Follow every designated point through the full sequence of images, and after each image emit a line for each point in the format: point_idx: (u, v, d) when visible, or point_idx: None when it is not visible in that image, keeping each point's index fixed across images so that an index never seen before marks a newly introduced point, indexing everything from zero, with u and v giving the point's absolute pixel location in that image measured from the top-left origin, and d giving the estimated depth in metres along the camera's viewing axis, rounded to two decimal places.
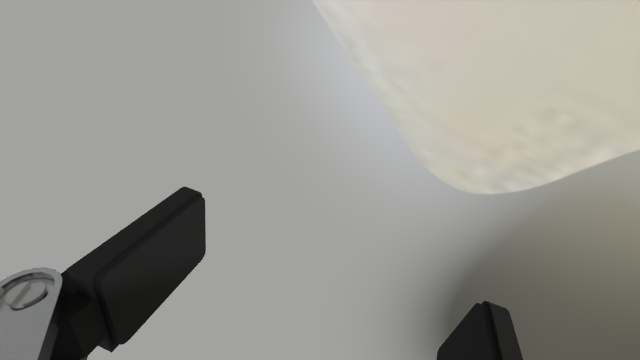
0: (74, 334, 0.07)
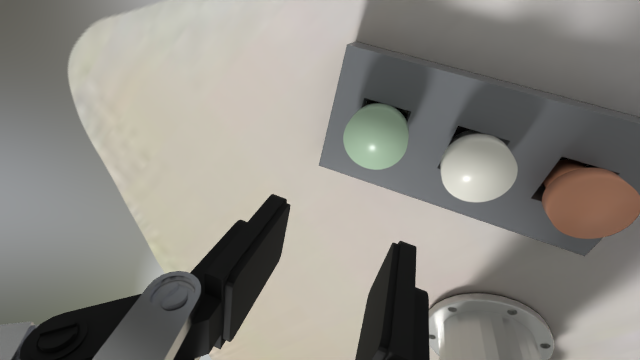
0: None
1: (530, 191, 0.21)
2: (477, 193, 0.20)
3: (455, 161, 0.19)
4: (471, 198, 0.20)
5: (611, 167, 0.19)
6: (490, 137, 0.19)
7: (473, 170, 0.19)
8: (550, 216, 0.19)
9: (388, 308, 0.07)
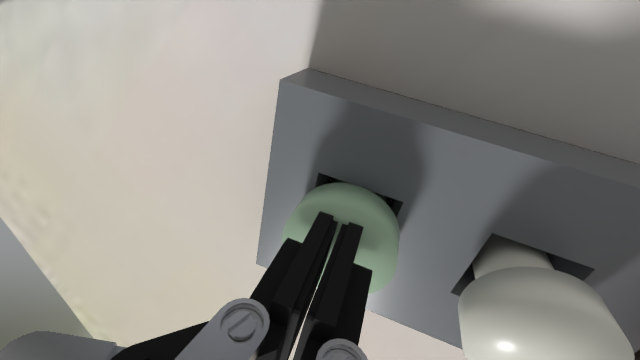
0: None
1: None
2: None
3: (492, 327, 0.09)
4: None
5: None
6: (568, 283, 0.09)
7: (530, 348, 0.09)
8: None
9: (323, 281, 0.08)
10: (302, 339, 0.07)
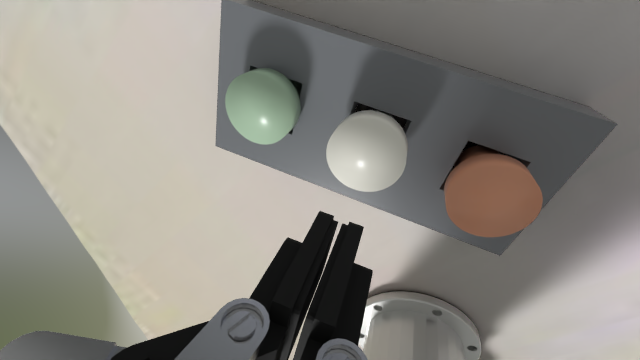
0: None
1: (438, 181, 0.19)
2: (367, 181, 0.17)
3: (339, 142, 0.16)
4: (362, 187, 0.17)
5: (521, 155, 0.16)
6: (379, 114, 0.16)
7: (359, 153, 0.16)
8: (447, 210, 0.16)
9: (323, 281, 0.08)
10: (302, 339, 0.07)
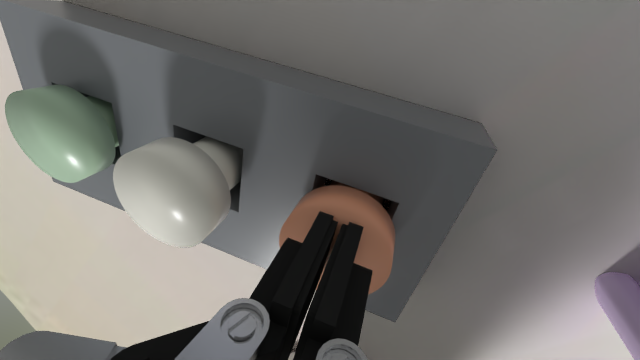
0: None
1: None
2: (175, 234, 0.12)
3: (124, 182, 0.12)
4: (173, 241, 0.12)
5: (385, 193, 0.12)
6: (173, 143, 0.11)
7: (152, 197, 0.11)
8: None
9: (323, 281, 0.08)
10: (302, 339, 0.07)
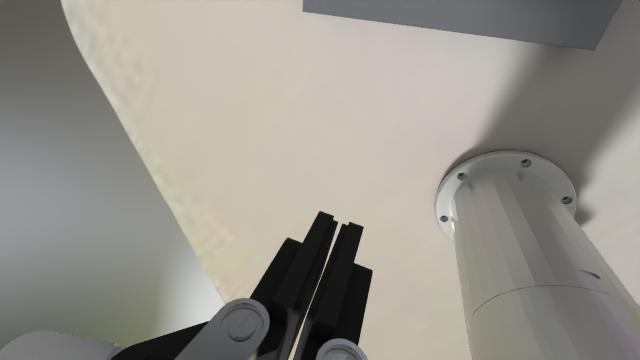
0: None
1: None
2: None
3: None
4: None
5: None
6: None
7: None
8: None
9: (323, 281, 0.08)
10: (302, 339, 0.07)
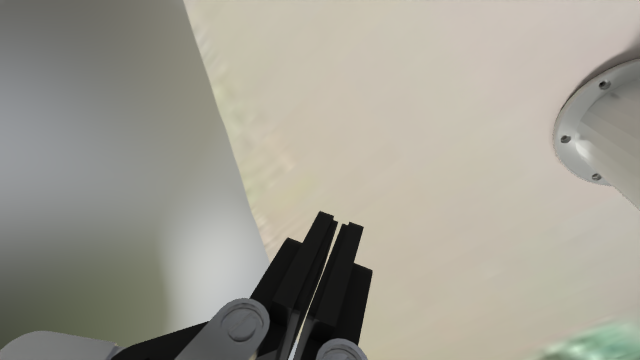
0: None
1: None
2: None
3: None
4: None
5: None
6: None
7: None
8: None
9: (323, 281, 0.08)
10: (302, 339, 0.07)
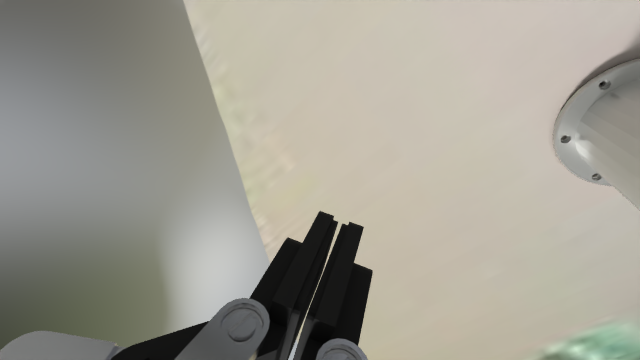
0: None
1: None
2: None
3: None
4: None
5: None
6: None
7: None
8: None
9: (323, 281, 0.08)
10: (302, 339, 0.07)
